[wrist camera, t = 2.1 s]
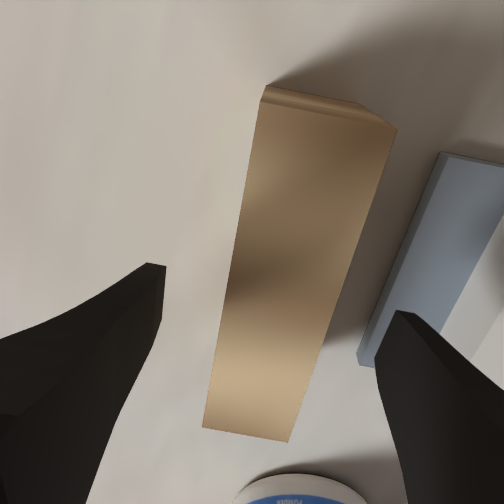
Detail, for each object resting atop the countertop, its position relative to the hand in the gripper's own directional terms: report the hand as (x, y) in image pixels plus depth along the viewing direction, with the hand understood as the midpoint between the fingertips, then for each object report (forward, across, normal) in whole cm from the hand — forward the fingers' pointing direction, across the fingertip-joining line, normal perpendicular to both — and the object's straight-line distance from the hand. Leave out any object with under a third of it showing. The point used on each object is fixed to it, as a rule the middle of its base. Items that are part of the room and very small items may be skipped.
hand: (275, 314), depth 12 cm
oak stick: (+5, 0, 0) cm, 5 cm away
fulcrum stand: (+5, -9, 0) cm, 10 cm away
